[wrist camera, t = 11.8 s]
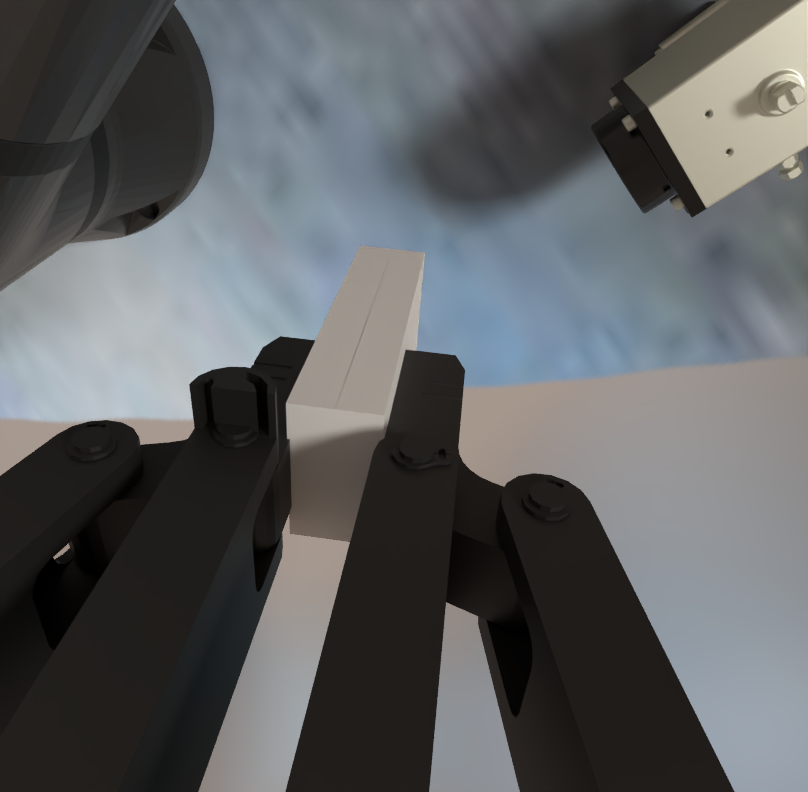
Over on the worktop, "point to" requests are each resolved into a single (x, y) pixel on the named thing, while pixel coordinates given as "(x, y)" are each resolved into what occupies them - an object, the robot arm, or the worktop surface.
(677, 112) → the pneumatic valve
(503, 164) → the worktop surface
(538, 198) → the worktop surface
